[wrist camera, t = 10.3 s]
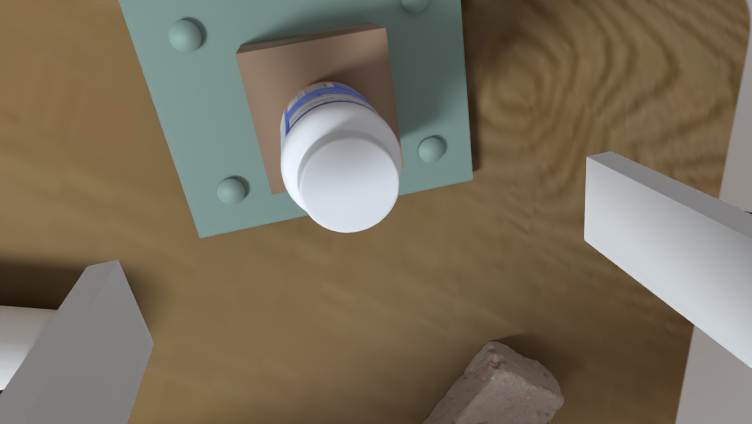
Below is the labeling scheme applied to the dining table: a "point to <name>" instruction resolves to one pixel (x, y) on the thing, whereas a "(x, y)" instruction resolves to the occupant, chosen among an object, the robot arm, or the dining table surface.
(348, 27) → the walnut block
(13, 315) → the mug
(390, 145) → the pill bottle
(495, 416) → the brick
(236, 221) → the build board
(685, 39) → the dining table surface
